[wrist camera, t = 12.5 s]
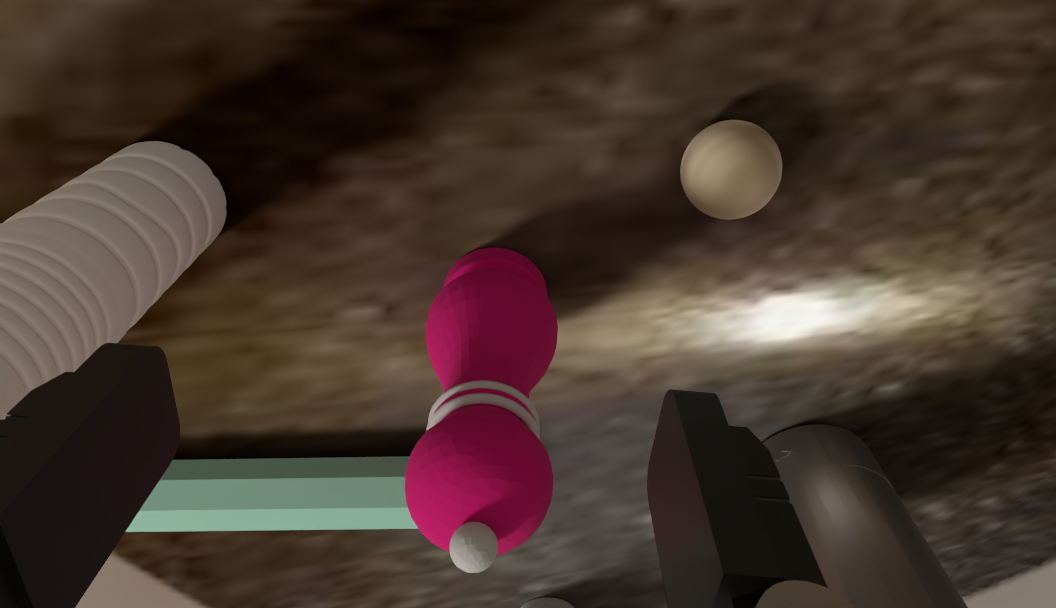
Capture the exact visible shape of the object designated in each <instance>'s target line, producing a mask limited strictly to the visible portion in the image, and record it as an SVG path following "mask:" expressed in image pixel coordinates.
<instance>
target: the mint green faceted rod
mask: <svg viewBox="0 0 1056 608" xmlns="http://www.w3.org/2000/svg"><path fill="white" fill-rule="evenodd" d="M409 458H410V456H403V457H337V458H270V459H203V460H172V462H171V464H170V465H169V467H168V468H167V470H166V471H165V473H164V474H163V476H162V477H161V479H160V480H159V482H158V483H157V485H156V486H155V488H154V489H153V491H152V492H151V494H150V495H149V497H148V498H147V500H146V501H145V503H144V504H143V506H142V507H141V509H140V510H139V512H138V513H137V515H136V516H135V518H134V519H133V521H132V522H131V524H130V525H129V527H128V528H127V530H126V531H125V532H160V531H247V530H333V529H418V527H417V525H416V524H415V522H414V521H413V519H412V518H411V515H410V512H409V509H408V506H407V503H406V496H405V473H406V467H407V464H408V461H409Z"/></svg>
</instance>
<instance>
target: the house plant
mask: <svg viewBox="0 0 1056 608" xmlns="http://www.w3.org/2000/svg"><path fill="white" fill-rule="evenodd" d="M520 608H574V607H573V606H572V605H571V604H570V603H568V602H566V601H564V600H561V599H557V598H546V597H545V598H538V599H534V600H531V601H529V602H527V603H525V604H524V605H522V606H521V607H520Z"/></svg>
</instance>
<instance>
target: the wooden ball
mask: <svg viewBox="0 0 1056 608" xmlns="http://www.w3.org/2000/svg"><path fill="white" fill-rule="evenodd" d="M680 174H681V183H682V186H683V189H684V192H685V194H686V196H687V197H688V199H689V200H690V202H691V203H692V204H693V205H694V206H695V207H696V208H697V209H699V210H700V211H701V212H703V213H705V214H707V215H709V216H711V217H715V218H719V219H725V220H732V219H739V218H743V217H746V216H749V215H751V214H753V213H755V212H757V211H758V210H760V209H761V208H762V207H764V206H765V205H766V204H767V203H768V202H769V201H770V199H771V198H772V197H773V195H774V194H775V192H776V190H777V188H778V186H779V184H780V181H781V176H782V158H781V154H780V151H779V148H778V146H777V144H776V142H775V141H774V139H773V138H772V137H771V136H770V135H769V134H768V133H767V132H766V131H765V130H764V129H762V128H761V127H759V126H757V125H755V124H753V123H750V122H747V121H742V120H726V121H721V122H718V123H715V124H712V125H710V126H708V127H706V128H705V129H703V130H702V131H701V132H700V133H698V134H697V135H696V136H695V137H694V138H693V139H692V141H691V142H690V144H689V145H688V147H687V149H686V150H685V153H684V155H683V158H682V162H681V169H680Z"/></svg>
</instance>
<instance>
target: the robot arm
mask: <svg viewBox="0 0 1056 608" xmlns="http://www.w3.org/2000/svg"><path fill="white" fill-rule="evenodd" d="M179 436H180V423H179V418H178V413H177V408H176V403H175V398H174V393H173V388H172V383H171V378H170V373H169V368H168V363H167V359H166V356H165V353H164V352H163V350H162V349H161V348H159V347H157V346H145V345H133V344H120V343H105V344H103V345H101V346H100V347H99V348H98V349H97V350H96V351H95V352H94V353H93V354H92V355H91V356H90V357H89V358H88V359H87V360H86V361H85V362H84V363H83V364H82V365H81V366H80V367H79V368H78V369H77V370H76V371H75V372H64V373H62V374H61V375H59V376H57V377H55V378H53V379H51V380H50V381H48V382H46V383H44V384H42V385H41V386H39V387H37V388H35V389H33V390H31V391H30V392H29V393H28V394H27V395H26V396H25V397H24V398H23V399H22V400H21V401H20V402H18V403H17V404H16V405H15V406H14V407H13V408H12V409H11V410H10V411H9V412H8V413H7V414H6V418H5V420H2V419H1V420H0V608H75V607H76V605H77V604H78V602H79V601H80V599H81V597H82V596H83V595H84V593H85V592H86V590H87V589H88V587H89V586H90V584H91V583H92V581H93V580H94V578H95V577H96V575H97V574H98V572H99V571H100V569H101V567H102V566H103V565H104V563H105V561H106V560H107V559H108V557H109V556H110V554H111V553H112V551H113V550H114V548H115V547H116V545H117V544H118V542H119V541H120V539H121V538H122V536H123V534H124V533H125V531H126V530H127V528H128V527H129V525H130V524H131V522H132V521H133V519H134V518H135V516H136V515H137V513H138V512H139V510H140V509H141V507H142V506H143V504H144V503H145V501H146V500H147V498H148V497H149V495H150V494H151V492H152V491H153V489H154V488H155V486H156V485H157V483H158V482H159V480H160V479H161V477H162V476H163V474H164V473H165V471H166V470H167V468H168V467H169V465H170V464H171V462H172V460H173V458H174V456H175V453H176V451H177V447H178V443H179ZM647 490H648V501H649V506H650V512H651V517H652V523H653V528H654V533H655V539H656V544H657V550H658V555H659V561H660V566H661V571H662V577H663V582H664V588H665V593H666V598H667V604H668V608H968V607H967V606H966V604H965V602H964V601H963V599H962V598H961V596H960V594H959V593H958V591H957V590H956V588H955V586H954V585H953V583H952V582H951V580H950V578H949V577H948V575H947V574H946V572H945V570H944V569H943V567H942V566H941V564H940V562H939V561H938V559H937V558H936V556H935V554H934V553H933V551H932V550H931V548H930V546H929V545H928V543H927V542H926V540H925V538H924V537H923V535H922V533H921V532H920V530H919V529H918V527H917V525H916V524H915V522H914V521H913V519H912V517H911V516H910V514H909V513H908V511H907V509H906V508H905V506H904V505H903V503H902V501H901V500H900V498H899V497H898V495H897V493H896V492H895V490H894V488H893V487H892V485H891V483H890V482H889V480H888V478H887V477H886V475H885V474H884V472H883V470H882V469H881V467H880V466H879V464H878V463H877V461H876V459H875V458H874V456H873V455H872V453H871V451H870V450H869V448H868V447H867V445H866V444H865V443H864V442H863V441H862V439H861V438H860V437H858V436H857V435H855V434H854V433H852V432H851V431H849V430H846V429H843V428H840V427H838V426H831V425H824V424H820V425H805V426H800V427H794V428H792V429H789V430H786V431H783V432H780V433H778V434H776V435H774V436H773V437H771V438H769V439H767V440H766V441H765V442H763V443H762V442H761V441H760V440H759V439H758V438H757V437H756V436H755V435H754V434H753V433H752V432H751V431H750V430H749V429H748V428H747V427H735V426H729V425H728V423H727V420H726V417H725V414H724V412H723V409H722V406H721V403H720V401H719V398H718V396H717V395H716V394H715V393H705V392H693V391H681V390H668V391H667V392H666V394H665V397H664V401H663V405H662V409H661V413H660V417H659V422H658V426H657V430H656V435H655V439H654V443H653V447H652V452H651V456H650V461H649V467H648V478H647Z"/></svg>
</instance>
